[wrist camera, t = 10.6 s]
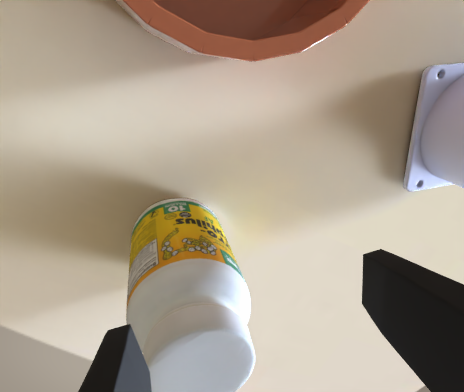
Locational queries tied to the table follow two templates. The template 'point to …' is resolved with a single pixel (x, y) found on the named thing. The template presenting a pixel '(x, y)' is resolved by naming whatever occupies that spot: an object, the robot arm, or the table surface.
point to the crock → (242, 24)
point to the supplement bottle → (188, 300)
